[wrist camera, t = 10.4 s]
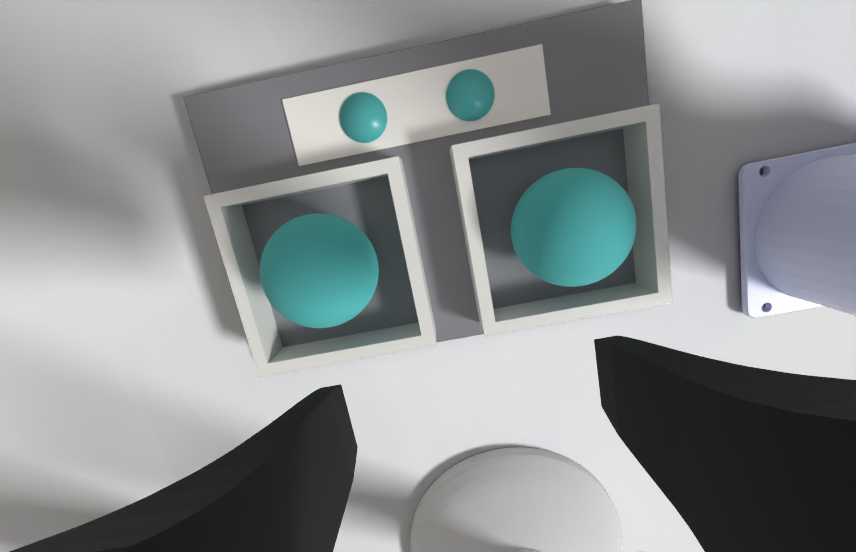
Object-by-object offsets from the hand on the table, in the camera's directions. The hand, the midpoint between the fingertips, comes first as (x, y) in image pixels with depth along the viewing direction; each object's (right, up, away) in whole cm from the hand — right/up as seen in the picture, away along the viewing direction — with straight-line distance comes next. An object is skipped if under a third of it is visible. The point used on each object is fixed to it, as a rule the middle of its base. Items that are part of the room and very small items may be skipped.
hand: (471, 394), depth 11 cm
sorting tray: (-1, +7, +9) cm, 12 cm away
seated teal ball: (+5, +6, +8) cm, 11 cm away
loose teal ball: (-6, +4, +9) cm, 11 cm away
